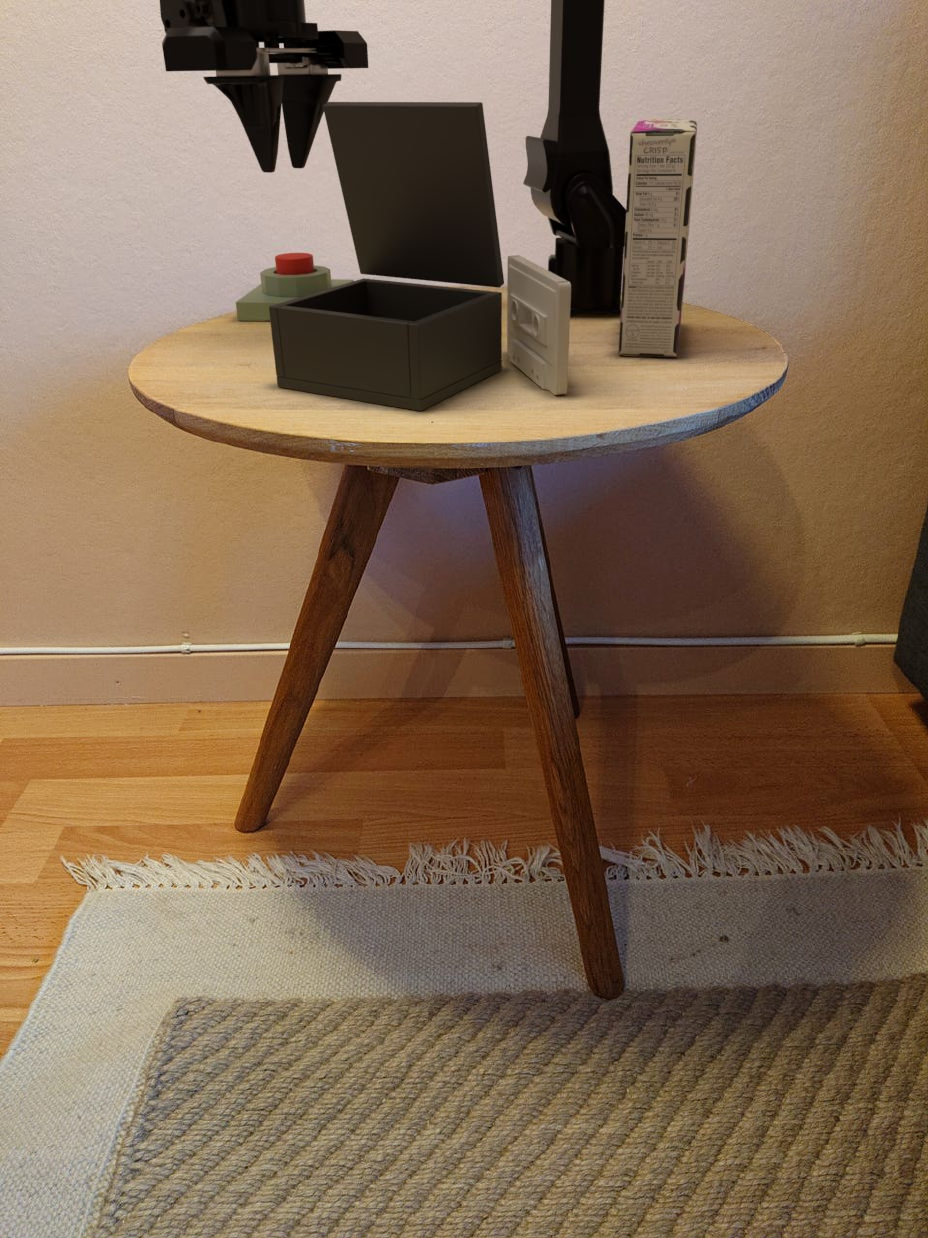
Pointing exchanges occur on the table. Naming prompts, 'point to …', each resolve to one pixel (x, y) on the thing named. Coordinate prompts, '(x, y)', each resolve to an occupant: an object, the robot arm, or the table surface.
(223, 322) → the table surface
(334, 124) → the lid
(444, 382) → the black lidded box
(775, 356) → the table surface
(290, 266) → the button
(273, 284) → the switch block
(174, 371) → the table surface
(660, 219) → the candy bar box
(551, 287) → the cassette
